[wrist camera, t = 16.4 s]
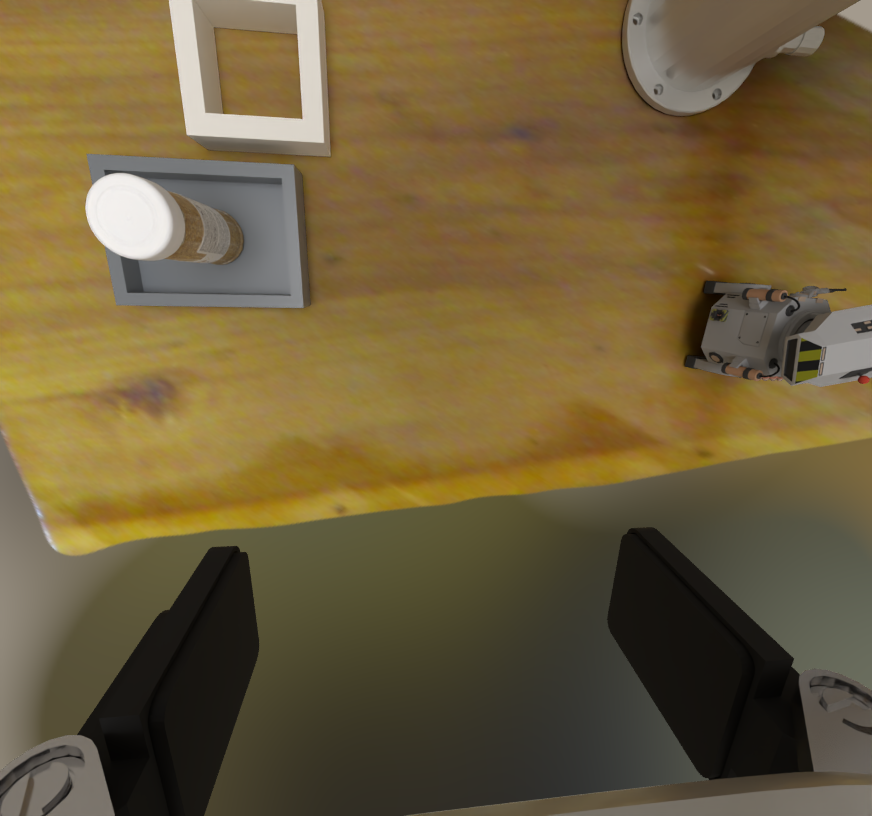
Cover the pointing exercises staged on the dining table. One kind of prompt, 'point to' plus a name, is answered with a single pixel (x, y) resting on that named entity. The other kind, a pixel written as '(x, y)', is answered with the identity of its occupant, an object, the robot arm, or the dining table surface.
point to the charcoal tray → (251, 208)
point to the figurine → (784, 336)
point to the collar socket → (200, 86)
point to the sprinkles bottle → (159, 223)
